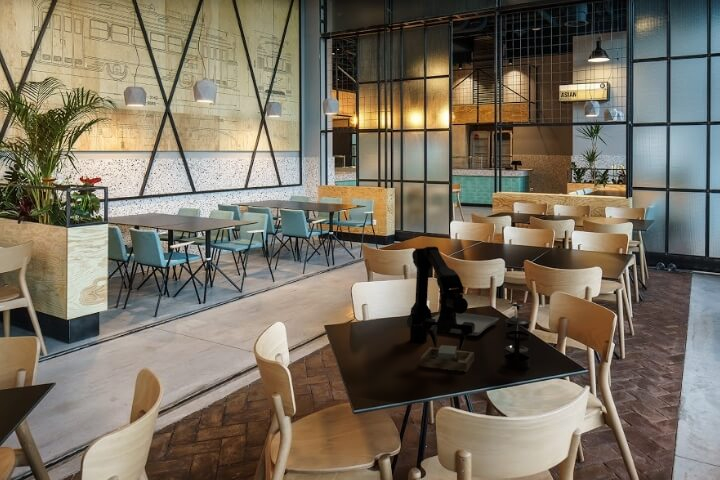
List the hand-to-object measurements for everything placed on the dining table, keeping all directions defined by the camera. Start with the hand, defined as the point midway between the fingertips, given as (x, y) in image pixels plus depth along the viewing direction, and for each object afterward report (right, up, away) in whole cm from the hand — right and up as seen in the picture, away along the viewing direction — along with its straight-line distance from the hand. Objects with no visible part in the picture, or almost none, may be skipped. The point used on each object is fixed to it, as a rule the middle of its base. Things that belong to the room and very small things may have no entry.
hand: (447, 348), depth 218 cm
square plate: (+13, 0, +48) cm, 50 cm away
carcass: (0, -6, +1) cm, 6 cm away
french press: (+25, -6, -2) cm, 26 cm away
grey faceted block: (0, -5, +1) cm, 5 cm away
